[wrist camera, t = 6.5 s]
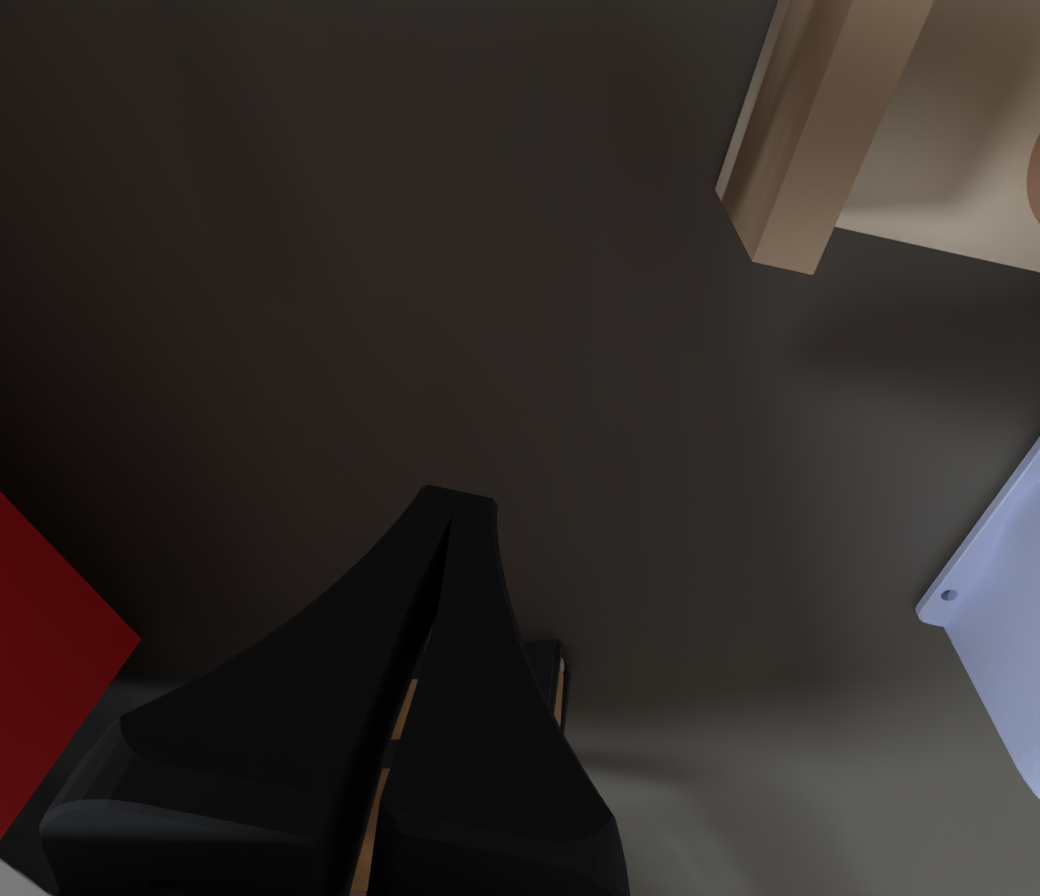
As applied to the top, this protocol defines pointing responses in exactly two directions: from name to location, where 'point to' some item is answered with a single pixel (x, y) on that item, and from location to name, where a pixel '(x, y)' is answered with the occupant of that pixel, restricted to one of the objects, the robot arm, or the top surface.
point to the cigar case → (543, 659)
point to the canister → (1034, 180)
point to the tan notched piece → (889, 130)
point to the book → (47, 656)
